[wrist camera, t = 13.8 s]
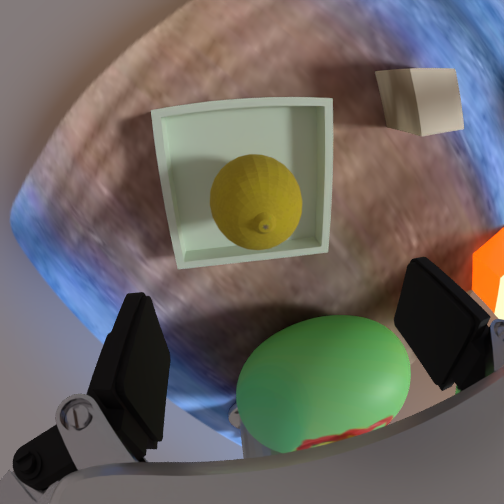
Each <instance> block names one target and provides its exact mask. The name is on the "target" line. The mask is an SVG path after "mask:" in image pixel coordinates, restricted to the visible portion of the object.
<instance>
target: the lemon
mask: <svg viewBox="0 0 504 504" xmlns="http://www.w3.org/2000/svg"><path fill="white" fill-rule="evenodd" d="M210 208H211V213H212V217H213V219H214V221H215V223H216V225H217V227H218V229H219V230H220V231H221V232H222V233H223V235H224V236H225V237H226V238H227V239H228V240H230V241H231V242H233V243H234V244H236V245H237V246H240V247H243V248H246V249H250V250H265V249H270V248H272V247H275V246H278V245H279V244H281V243H282V242H284V241H286V240H287V239H288V238H289V237H290V236H291V235H292V234H293V232H294V231H295V229H296V227H297V226H298V224H299V221H300V218H301V214H302V196H301V191H300V187H299V185H298V183H297V181H296V179H295V177H294V175H293V174H292V173H291V172H290V171H289V169H288V168H287V167H286V166H285V165H284V164H282V163H281V162H279V161H277V160H276V159H274V158H272V157H268V156H265V155H260V154H249V155H244V156H240V157H237V158H236V159H234V160H232V161H230V162H228V163H227V164H226V165H225V166H224V167H223V168H222V169H221V170H220V171H219V173H218V174H217V176H216V177H215V179H214V181H213V184H212V187H211V190H210Z"/></svg>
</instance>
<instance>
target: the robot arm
mask: <svg viewBox="0 0 504 504" xmlns="http://www.w3.org/2000/svg"><path fill="white" fill-rule="evenodd" d="M489 319H490V316H489V315H488V314H487V312H485V311H484V309H482V307H481V306H479V305H478V304H477V303H476V302H475V301H474V300H473V299H472V298H471V297H470V296H469V295H468V294H467V293H466V292H465V291H464V290H463V289H462V288H461V287H460V286H459V285H457V284H456V283H455V282H454V281H453V280H452V279H451V278H450V277H449V276H447V275H446V274H445V273H444V272H443V271H442V270H441V269H439V268H438V267H437V266H436V265H435V264H434V263H433V262H431V261H430V260H429V259H428V258H426V257H420V258H414V259H412V260H411V261H410V263H409V264H408V266H407V270H406V274H405V278H404V283H403V287H402V291H401V295H400V298H399V302H398V306H397V309H396V313H395V316H394V324H395V326H396V328H397V329H398V330H399V332H400V333H401V335H402V336H403V337H404V339H405V340H406V342H407V343H408V345H409V346H410V347H411V349H412V350H413V352H414V353H415V355H416V356H417V358H418V359H419V361H420V362H421V363H422V365H423V367H424V368H425V370H426V371H427V373H428V374H429V376H430V377H431V379H432V380H433V382H434V383H435V384H436V385H438V386H439V387H440V389H441V390H442V391H443V390H445V389H447V388H449V387H451V386H452V385H453V383H454V382H455V383H456V385H457V386H456V393H455V395H454V396H452V397H450V398H448V399H446V400H444V401H442V402H440V403H438V404H436V405H434V406H432V407H430V408H428V409H425V410H423V411H421V412H419V413H416V414H414V415H412V416H409V417H407V418H405V419H402V420H400V421H397V422H395V423H392V424H389V425H387V426H384V427H381V428H378V429H376V430H373V431H370V432H367V433H364V434H361V435H357V436H354V437H351V438H347V439H344V440H340V441H337V442H333V443H329V444H325V445H321V446H317V447H313V448H308V449H303V450H298V451H293V452H288V453H280V452H277V451H274V450H272V449H270V448H268V447H266V446H264V445H263V444H261V443H260V442H258V441H257V440H256V439H255V438H254V437H253V436H252V435H251V434H250V433H249V432H248V430H247V429H246V427H245V426H244V424H243V422H242V420H241V418H240V415H239V412H238V408H237V403H235V404H234V405H233V406H232V407H231V408H230V410H229V413H228V415H229V421H230V423H231V424H232V425H233V426H235V427H236V428H239V429H240V432H241V440H242V448H243V457H244V459H236V460H224V461H210V462H148V461H147V460H146V459H145V458H144V456H145V455H146V449H157V442H158V441H162V439H163V427H164V416H165V405H166V395H167V386H168V377H169V368H170V352H169V349H168V347H167V344H166V341H165V339H164V336H163V333H162V330H161V327H160V324H159V321H158V318H157V315H156V312H155V309H154V306H153V303H152V300H151V297H150V296H146V295H145V294H144V293H143V292H139V293H128V294H127V295H126V297H125V299H124V302H123V304H122V306H121V309H120V311H119V314H118V316H117V319H116V321H115V324H114V326H113V329H112V331H111V332H110V333H109V334H108V335H107V337H106V340H105V342H104V345H103V348H102V350H101V353H100V356H99V359H98V362H97V364H96V367H95V370H94V373H93V376H92V380H91V382H90V385H89V388H88V392H87V395H85V394H74V395H72V396H69V397H67V398H66V399H65V400H63V401H62V403H61V404H60V405H59V406H58V409H57V411H56V417H55V419H56V425H55V426H53V427H52V428H50V429H49V430H47V431H45V432H44V433H42V434H41V435H39V436H37V437H36V438H34V439H33V440H31V441H29V442H28V443H26V444H25V445H23V446H22V447H20V448H19V449H18V450H17V452H16V453H15V455H14V458H13V469H14V471H13V472H11V471H10V470H8V472H7V473H6V474H5V475H4V476H3V478H2V479H1V480H0V504H504V320H503V319H496V320H494V321H493V322H492V323H491V325H490V327H488V326H487V323H488V321H489Z"/></svg>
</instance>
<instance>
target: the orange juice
mask: <svg viewBox="0 0 504 504" xmlns="http://www.w3.org/2000/svg"><path fill="white" fill-rule="evenodd" d="M472 290H473V291H474V292H475V293H476V294H477V295H478V296H479V297H480V298H481V299H482V300H483V301H484V302H485V303H486V305H488V307H489V308H490V309H491V310H492V311H493V312H494V313H495V315H496V316H497V317H498V318H499V319H503V320H504V227H503V228H502V229H501V230H500V231H499V232H498V233H497V234H496V235H494V236H493V237H492V238H491V239H490V240H489V241H488V242H486V243H485V244H484V245H483V246H482V247H480V248H479V249H478V250H477V251H476V252H474V253H473V277H472Z"/></svg>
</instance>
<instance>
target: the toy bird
mask: <svg viewBox="0 0 504 504" xmlns="http://www.w3.org/2000/svg"><path fill="white" fill-rule="evenodd" d="M410 377H411V371H410V362H409V358H408V355H407V352H406V350H405V348H404V346H403V344H402V343H401V341H400V340H399V338H398V337H397V336H396V335H395V334H394V333H393V332H392V331H391V330H389V329H388V328H387V327H385V326H384V325H382V324H380V323H378V322H376V321H373V320H371V319H368V318H364V317H359V316H351V315H330V316H322V317H317V318H312V319H308V320H305V321H302V322H299V323H296V324H294V325H291V326H289V327H287V328H285V329H283V330H281V331H279V332H277V333H276V334H274V335H272V336H271V337H269V338H268V339H267V340H265V341H264V342H263V343H262V344H260V345H259V346H258V347H257V348H256V349H255V350H254V351H253V353H252V354H251V355H250V356H249V358H248V359H247V361H246V362H245V364H244V366H243V368H242V370H241V372H240V375H239V378H238V382H237V389H236V402H237V408H238V412H239V415H240V418H241V420H242V422H243V424H244V426H245V427H246V429H247V430H248V432H249V433H250V434H251V435H252V436H253V437H254V438H255V439H256V440H257V441H258V442H260V443H261V444H263V445H264V446H266V447H268V448H270V449H272V450H274V451H277V452H280V453H288V452H293V451H298V450H303V449H308V448H313V447H317V446H321V445H325V444H329V443H333V442H337V441H340V440H344V439H347V438H351V437H354V436H357V435H361V434H364V433H367V432H370V431H373V430H376V429H378V428H381V427H384V426H387V425H388V424H389V423H390V421H392V420H393V418H394V417H395V416H396V415H397V413H398V412H399V411H400V409H401V407H402V405H403V404H404V401H405V399H406V397H407V394H408V390H409V386H410Z"/></svg>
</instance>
